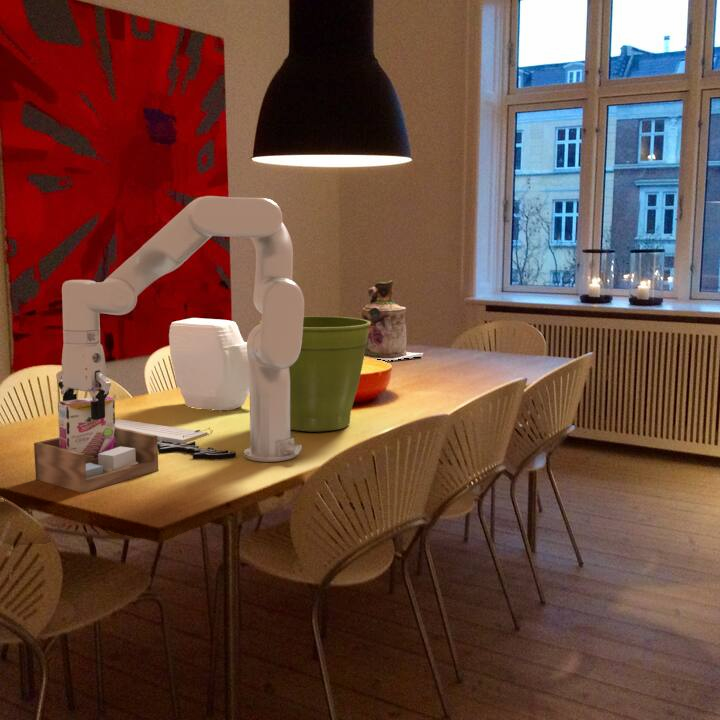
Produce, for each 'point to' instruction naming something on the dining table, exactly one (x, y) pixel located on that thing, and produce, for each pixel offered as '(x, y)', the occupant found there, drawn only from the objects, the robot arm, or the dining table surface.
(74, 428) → the candy bar box
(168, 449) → the nameplate
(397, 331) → the cookie jar
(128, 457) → the offcut
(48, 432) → the dining table surface
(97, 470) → the offcut
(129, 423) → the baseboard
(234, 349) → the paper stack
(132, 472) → the wooden divided box
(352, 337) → the plant pot
